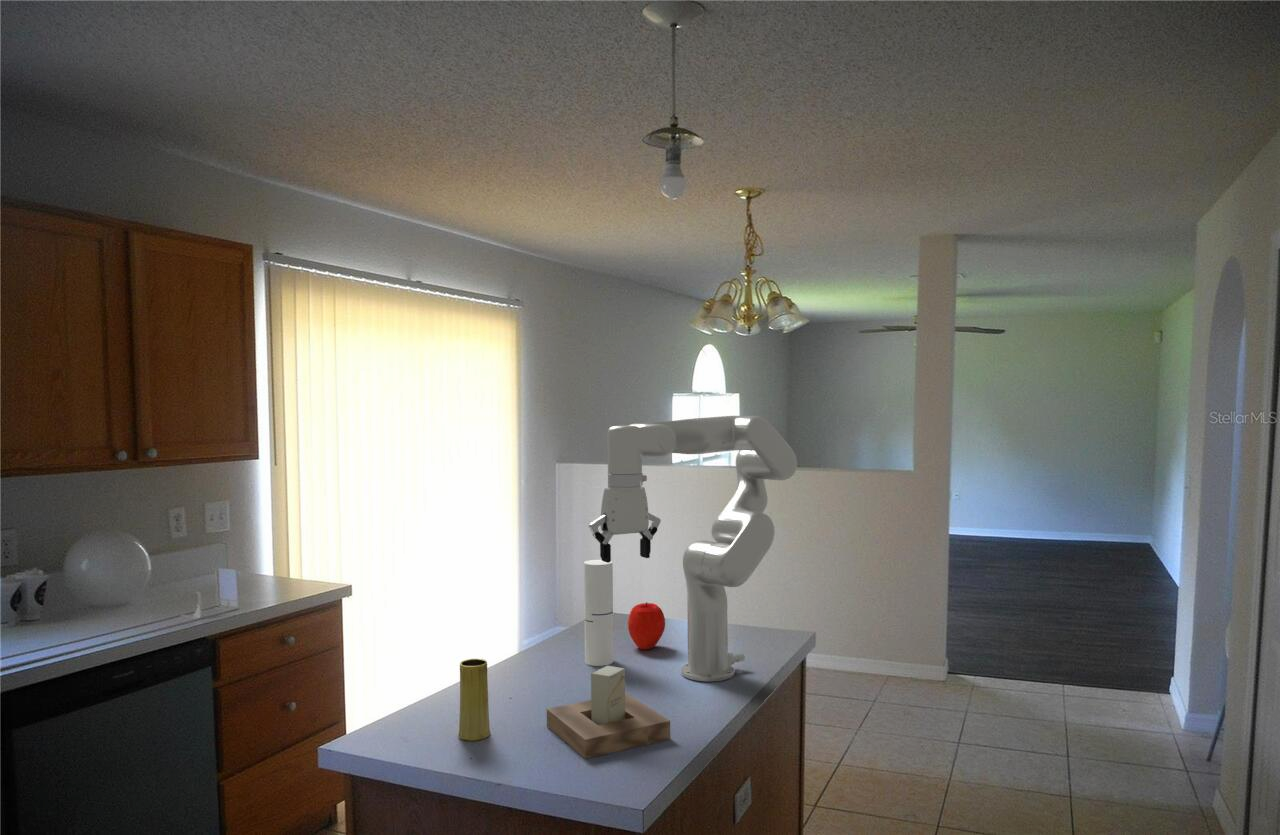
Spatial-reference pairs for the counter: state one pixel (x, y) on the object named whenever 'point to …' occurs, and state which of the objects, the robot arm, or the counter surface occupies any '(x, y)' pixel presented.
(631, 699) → the docking block
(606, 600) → the cylindrical container
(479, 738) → the vase
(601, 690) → the skincare box
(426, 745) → the counter surface
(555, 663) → the counter surface
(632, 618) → the apple
